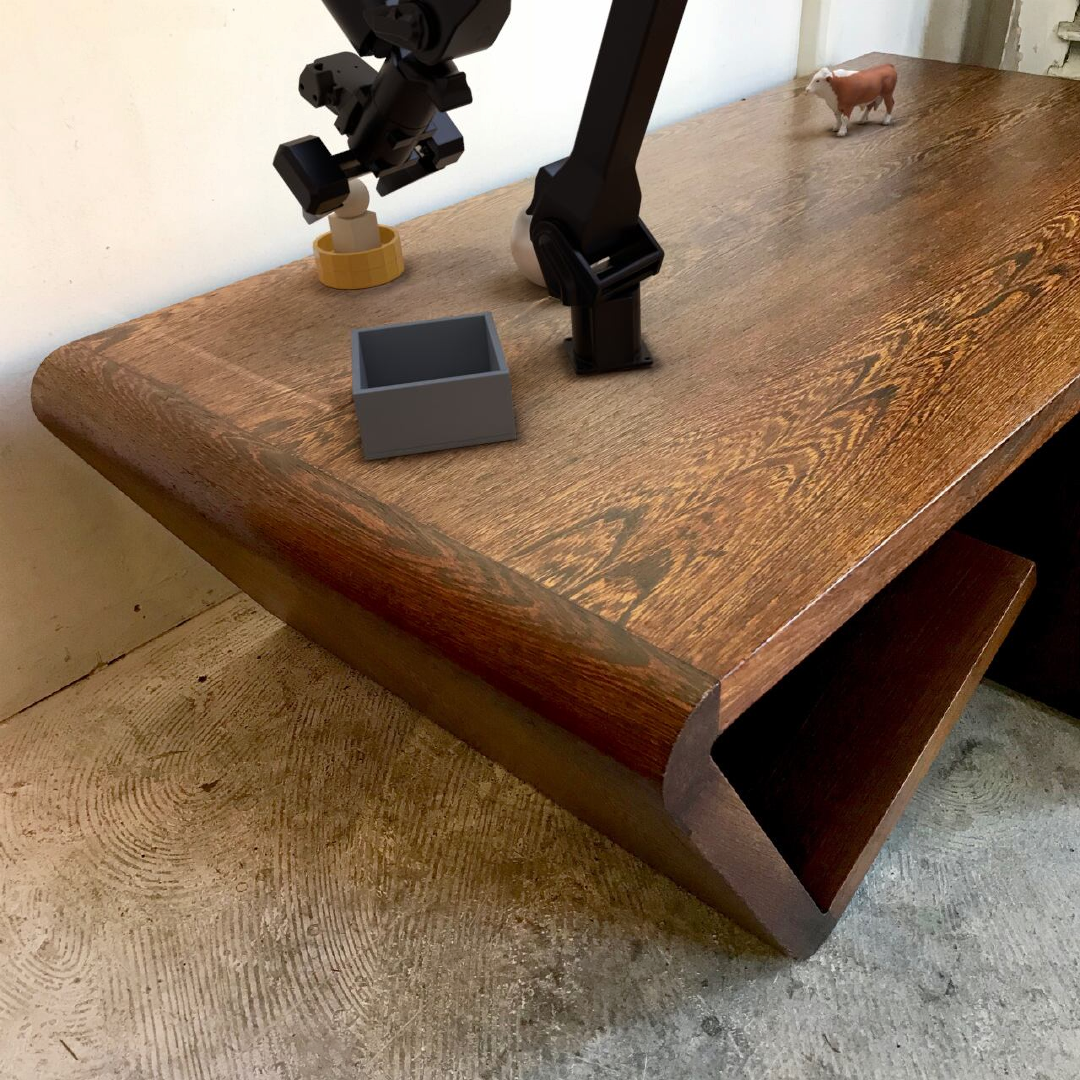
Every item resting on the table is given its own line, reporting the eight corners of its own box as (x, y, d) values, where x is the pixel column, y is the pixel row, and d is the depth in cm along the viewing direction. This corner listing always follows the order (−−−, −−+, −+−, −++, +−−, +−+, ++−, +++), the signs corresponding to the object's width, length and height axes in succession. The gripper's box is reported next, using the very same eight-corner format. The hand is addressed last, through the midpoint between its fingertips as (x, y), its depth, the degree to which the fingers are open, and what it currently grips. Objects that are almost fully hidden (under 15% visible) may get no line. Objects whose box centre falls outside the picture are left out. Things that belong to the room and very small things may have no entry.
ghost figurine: (541, 314, 96) (533, 205, 90) (499, 281, 103) (489, 178, 97) (627, 291, 99) (624, 184, 93) (581, 260, 106) (576, 159, 100)
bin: (516, 439, 78) (509, 372, 75) (365, 460, 77) (352, 394, 74) (497, 373, 87) (490, 310, 84) (362, 391, 86) (350, 329, 83)
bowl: (407, 287, 104) (401, 248, 101) (320, 299, 103) (311, 259, 101) (402, 257, 111) (397, 219, 108) (320, 267, 110) (313, 229, 108)
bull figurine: (797, 135, 136) (801, 67, 131) (880, 116, 140) (888, 50, 135) (818, 142, 133) (823, 73, 128) (903, 123, 137) (911, 56, 132)
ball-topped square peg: (390, 270, 106) (374, 174, 101) (359, 283, 104) (342, 185, 99) (364, 262, 109) (347, 168, 103) (334, 275, 106) (315, 179, 101)
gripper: (428, 3, 96) (369, 115, 108) (260, 45, 85) (216, 164, 98) (498, 104, 96) (431, 204, 109) (339, 159, 85) (285, 262, 98)
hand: (344, 206), depth 103 cm, fingers open, 9 cm apart
